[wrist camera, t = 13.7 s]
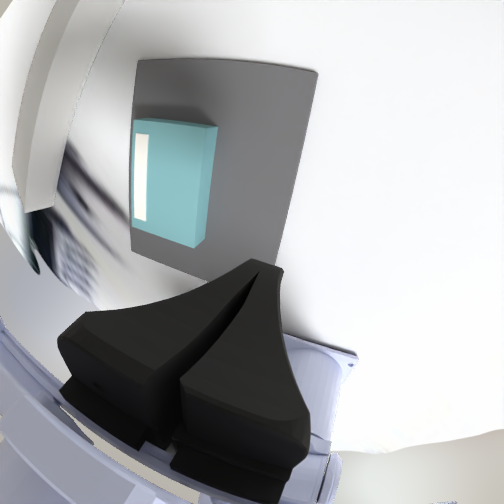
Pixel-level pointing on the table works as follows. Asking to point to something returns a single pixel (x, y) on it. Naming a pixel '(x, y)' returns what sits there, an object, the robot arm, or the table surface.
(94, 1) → the bevelled gray strip
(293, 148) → the mat
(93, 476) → the robot arm
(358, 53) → the table surface
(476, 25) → the table surface
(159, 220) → the card box
